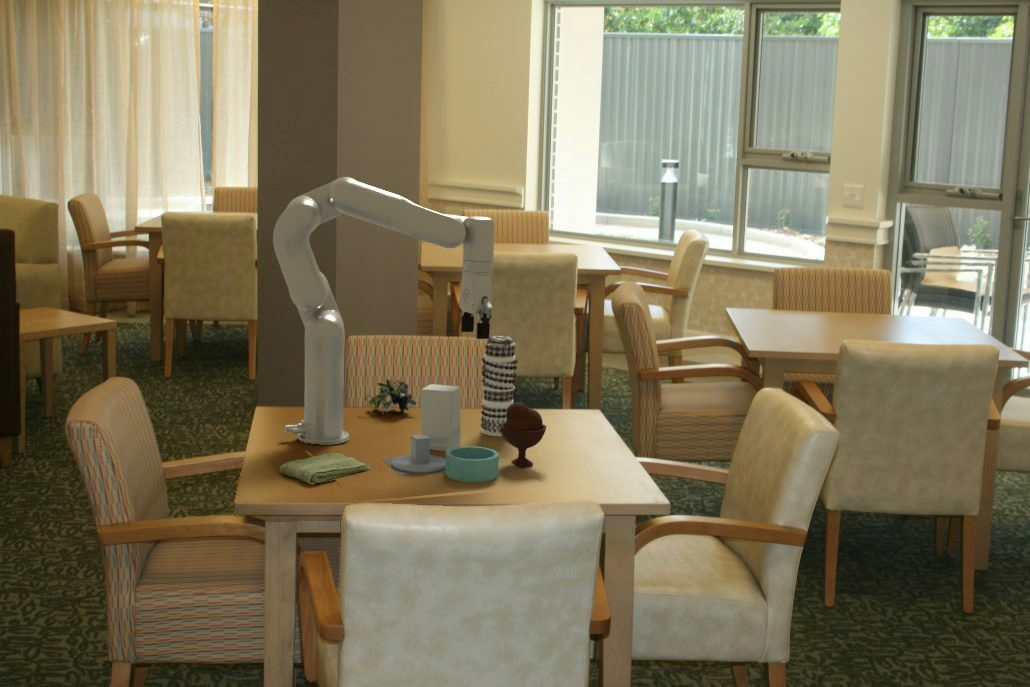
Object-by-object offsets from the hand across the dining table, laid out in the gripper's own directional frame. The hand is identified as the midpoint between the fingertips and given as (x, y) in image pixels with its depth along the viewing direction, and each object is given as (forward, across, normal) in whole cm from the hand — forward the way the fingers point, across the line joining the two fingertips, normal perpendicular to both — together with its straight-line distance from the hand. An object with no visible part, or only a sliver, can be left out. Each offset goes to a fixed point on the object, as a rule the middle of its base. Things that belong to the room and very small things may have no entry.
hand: (474, 335), depth 315 cm
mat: (+27, +20, -21) cm, 40 cm away
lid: (+26, +20, -21) cm, 39 cm away
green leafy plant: (+27, -32, -10) cm, 43 cm away
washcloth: (+28, +17, -43) cm, 54 cm away
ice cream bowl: (+27, +25, +2) cm, 37 cm away
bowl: (+27, +30, -13) cm, 42 cm away
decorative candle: (+27, -5, +10) cm, 29 cm away
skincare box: (+27, +6, -11) cm, 30 cm away
